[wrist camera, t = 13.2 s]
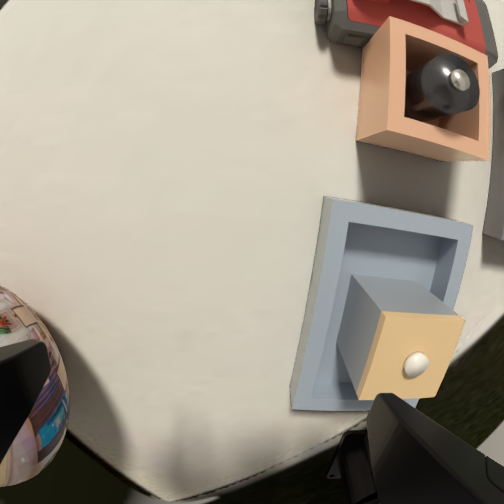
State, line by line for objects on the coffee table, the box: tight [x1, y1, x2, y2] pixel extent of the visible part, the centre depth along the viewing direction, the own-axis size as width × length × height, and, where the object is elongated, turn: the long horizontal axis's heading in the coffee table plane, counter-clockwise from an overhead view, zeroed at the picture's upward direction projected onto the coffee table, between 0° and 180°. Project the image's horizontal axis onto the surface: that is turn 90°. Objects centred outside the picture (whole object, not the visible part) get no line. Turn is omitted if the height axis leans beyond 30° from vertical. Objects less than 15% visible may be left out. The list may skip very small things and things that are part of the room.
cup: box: [356, 16, 490, 161], centre depth 14 cm, size 6×6×5 cm
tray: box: [290, 196, 473, 411], centre depth 18 cm, size 13×9×2 cm
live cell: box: [336, 274, 465, 400], centre depth 16 cm, size 4×4×6 cm
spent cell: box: [404, 53, 480, 122], centre depth 13 cm, size 3×3×6 cm
